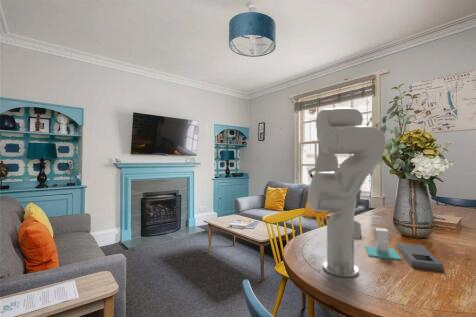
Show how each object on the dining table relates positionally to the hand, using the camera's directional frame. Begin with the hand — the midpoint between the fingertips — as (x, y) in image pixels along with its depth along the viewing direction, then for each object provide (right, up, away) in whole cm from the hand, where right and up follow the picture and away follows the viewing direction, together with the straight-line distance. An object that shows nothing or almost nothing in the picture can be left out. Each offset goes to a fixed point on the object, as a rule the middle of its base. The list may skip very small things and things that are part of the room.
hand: (326, 188), depth 114 cm
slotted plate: (+34, -28, -12) cm, 46 cm away
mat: (+22, -28, -7) cm, 37 cm away
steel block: (+22, -28, -7) cm, 36 cm away
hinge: (+18, -29, +21) cm, 40 cm away
